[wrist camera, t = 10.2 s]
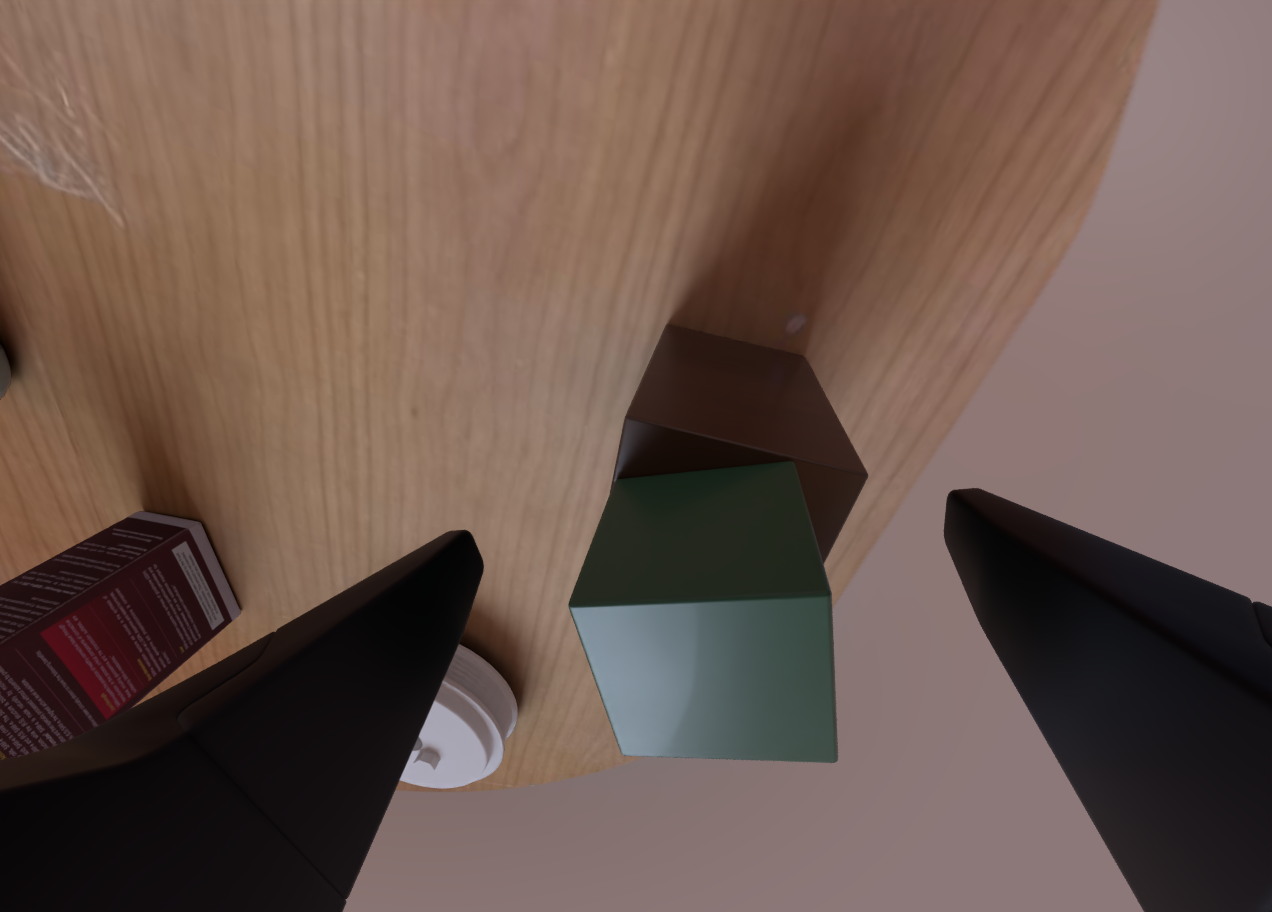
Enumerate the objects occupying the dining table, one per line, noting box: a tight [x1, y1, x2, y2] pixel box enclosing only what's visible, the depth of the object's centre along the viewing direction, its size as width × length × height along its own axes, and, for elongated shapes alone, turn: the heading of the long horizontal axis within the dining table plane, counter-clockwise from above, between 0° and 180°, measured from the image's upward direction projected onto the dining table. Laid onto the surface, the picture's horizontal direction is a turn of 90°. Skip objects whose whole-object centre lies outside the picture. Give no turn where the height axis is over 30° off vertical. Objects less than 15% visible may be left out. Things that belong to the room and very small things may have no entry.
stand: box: [610, 325, 868, 564], centre depth 17 cm, size 6×6×10 cm
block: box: [569, 461, 838, 763], centre depth 11 cm, size 4×4×4 cm
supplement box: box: [0, 511, 241, 760], centre depth 26 cm, size 9×5×16 cm, turn 175°
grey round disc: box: [400, 644, 518, 788], centre depth 33 cm, size 13×13×5 cm
